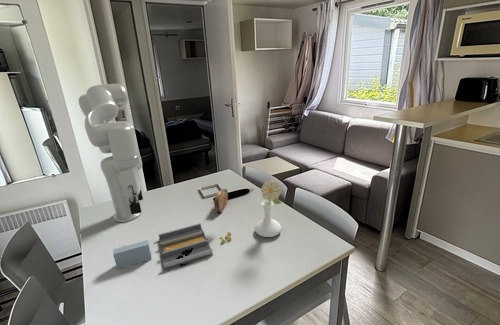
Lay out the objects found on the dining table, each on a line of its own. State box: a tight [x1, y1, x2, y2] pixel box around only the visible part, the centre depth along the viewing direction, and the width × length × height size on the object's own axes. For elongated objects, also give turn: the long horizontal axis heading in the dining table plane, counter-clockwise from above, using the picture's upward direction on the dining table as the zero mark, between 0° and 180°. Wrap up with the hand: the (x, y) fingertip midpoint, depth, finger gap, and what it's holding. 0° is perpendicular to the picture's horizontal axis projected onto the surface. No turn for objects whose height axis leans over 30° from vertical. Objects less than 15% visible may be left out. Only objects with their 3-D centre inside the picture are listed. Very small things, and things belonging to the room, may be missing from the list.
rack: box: [158, 222, 214, 271], centre depth 107 cm, size 20×18×2 cm
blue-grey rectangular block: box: [112, 239, 153, 270], centre depth 100 cm, size 3×12×7 cm, turn 113°
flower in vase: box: [254, 179, 282, 238], centre depth 109 cm, size 13×11×25 cm
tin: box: [213, 188, 229, 213], centre depth 134 cm, size 15×3×8 cm, turn 168°
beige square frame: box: [198, 182, 224, 199], centre depth 153 cm, size 12×12×2 cm
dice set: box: [219, 231, 232, 244], centre depth 111 cm, size 5×5×2 cm
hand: (137, 206), depth 95 cm, fingers open, 9 cm apart
